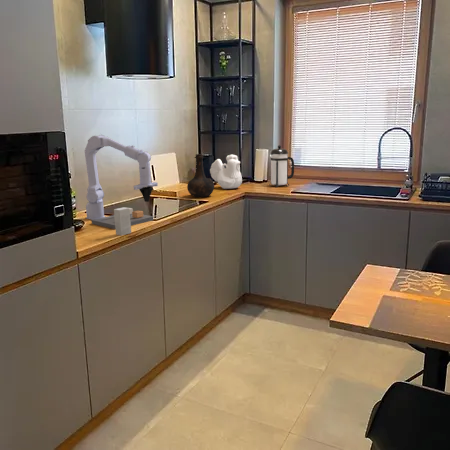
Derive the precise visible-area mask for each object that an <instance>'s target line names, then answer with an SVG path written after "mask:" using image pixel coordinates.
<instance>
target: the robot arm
mask: <svg viewBox="0 0 450 450" xmlns="http://www.w3.org/2000/svg"><path fill="white" fill-rule="evenodd" d="M104 147H111V148H113V149H116V150H118V151H121V152H122V153H124V155H125V156H126V157H127V158H130V159H133V160H134V161H137V163H138V169H139V170H138V171H139V184H136V185H133V190H136V191H138V190H139V192H140V193H141V195H142V197H143V200H144V202H146V203H148V202H150V198H151V194H152V192H153V189H154V188H153V187H158V182H157V181H154V182H152V176H151V174H152V172H151V159H152V155H151V154H150V153H149V152H148V151H144V150H143V149H139V148H136V147H135V145H134V144H133V145H132V144H131V145H127V146H126V145H125V144H123V143H120V142H119V141H117V140H115V139H113V138H111V137H109V136H105V135H103V134H99V135H92V136H91V137H89V138H88V139H87V144H86V147H85V149H84V157H85V166H86V172H87V179H88V187H87V192H86V199H87V201H88V202H87V203H86V205H85V210H86V217H85V219H87V220H90V221H91V220H94V219H98V218H103V217H106V216H105V208H104V200H103V199H104V197H105V192H104V190H103V188H102V185H101V184H100V179H99V170H98V164H97V153H98V152H99V151H100V150H101V149H103V148H104Z"/></svg>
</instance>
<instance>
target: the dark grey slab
mask: <svg viewBox="0 0 450 450" xmlns="http://www.w3.org/2000/svg"><path fill="white" fill-rule="evenodd" d="M90 221H91V224H92V225H95V226H99V227H100V226H101V227H103V228H108V229H113V230H116V229H115V218H114V214H113V215H109V216H105V217H103V218H98V219H94V220H91V219H90ZM152 221H154V216H153V215H147V214H143V217H139V218H135V217H132V214H130V222H131V227H132V226H135V225H139V224H143V223H147V222H152Z"/></svg>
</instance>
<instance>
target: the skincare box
mask: <svg viewBox="0 0 450 450" xmlns="http://www.w3.org/2000/svg"><path fill="white" fill-rule="evenodd" d="M129 208H130V207H126V206H125V207H117V208H114V209H113V215H114V218H115V229H114V230H115V235H117V236H120V237H121V236H125V235H128V234H129V235H130V234H132V226H131V222H130V210H129Z"/></svg>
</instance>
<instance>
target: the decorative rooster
mask: <svg viewBox="0 0 450 450" xmlns="http://www.w3.org/2000/svg"><path fill="white" fill-rule="evenodd" d="M238 158H239V157H238V155H236V154H229V155H227V156H226V157H225V159H226V162H227V163H223V162H222V160H221V159H220V158H217V159H216V160H214V162H213V163H211V166H210V169H209V174H210V176H211V178H212V179H213V180H214V181H215V182H217V183H218V185H219V186H220V187H221V188H222V189H224V190H227V189H229V190H230V189H237V188H239V187H240V186H241V185H242V183H243V178H242V172H241V167H240V166H241V165H240V164H241V161H240V160H239V159H238Z"/></svg>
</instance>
